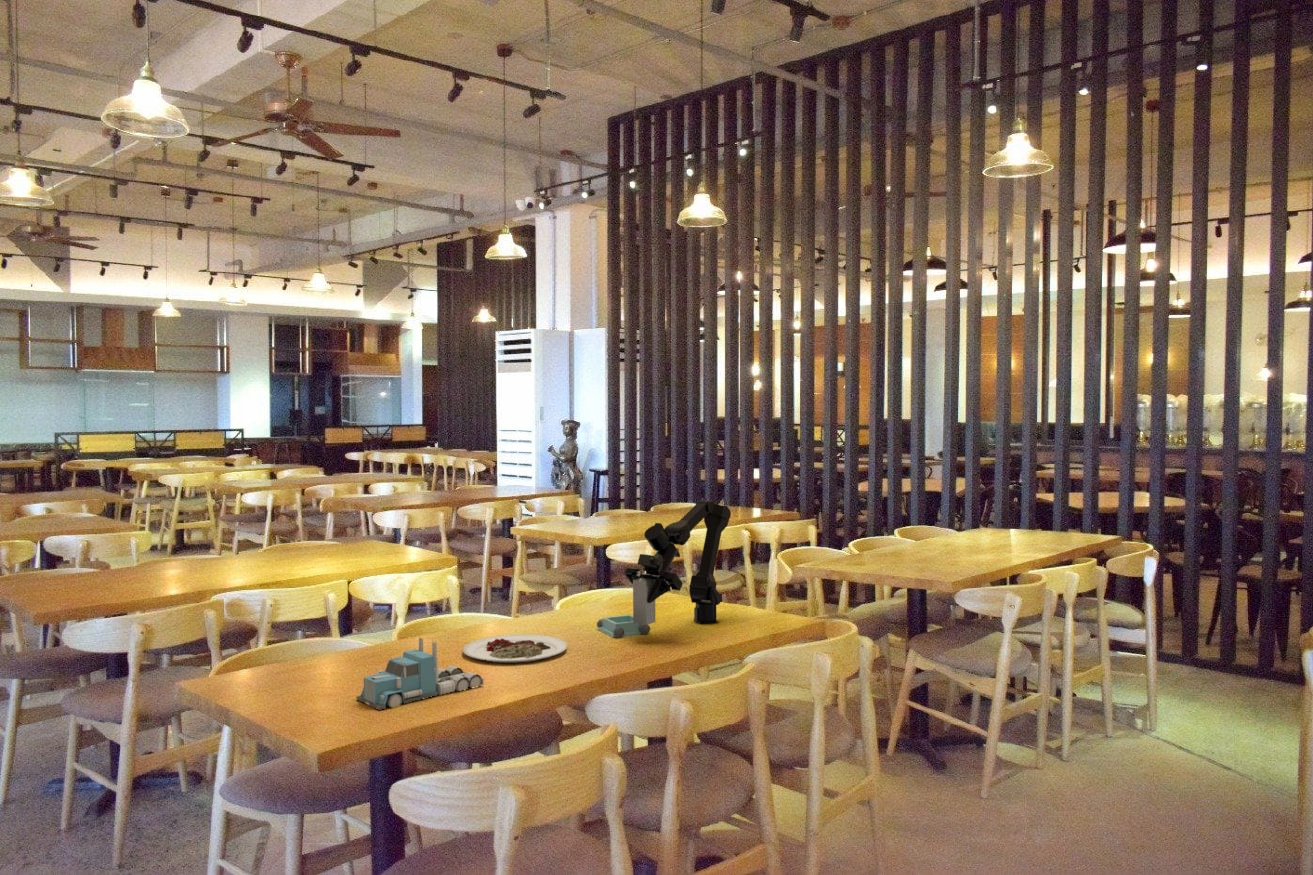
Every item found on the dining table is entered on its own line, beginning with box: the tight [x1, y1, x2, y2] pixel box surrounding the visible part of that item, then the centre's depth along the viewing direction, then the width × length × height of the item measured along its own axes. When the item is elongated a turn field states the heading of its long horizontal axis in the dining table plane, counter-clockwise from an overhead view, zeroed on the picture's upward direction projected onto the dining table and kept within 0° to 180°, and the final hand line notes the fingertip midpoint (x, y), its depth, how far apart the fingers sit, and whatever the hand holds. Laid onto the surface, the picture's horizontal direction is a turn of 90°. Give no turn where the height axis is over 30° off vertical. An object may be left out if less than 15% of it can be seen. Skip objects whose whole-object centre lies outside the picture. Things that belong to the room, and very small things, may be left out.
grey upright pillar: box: [632, 578, 657, 625], centre depth 289 cm, size 4×5×13 cm
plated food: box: [462, 634, 568, 664], centre depth 279 cm, size 30×30×3 cm
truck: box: [355, 637, 485, 711], centre depth 238 cm, size 12×29×15 cm, turn 133°
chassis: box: [596, 614, 651, 639], centre depth 303 cm, size 12×14×4 cm
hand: (641, 601), depth 288 cm, fingers closed on grey upright pillar, 5 cm apart
